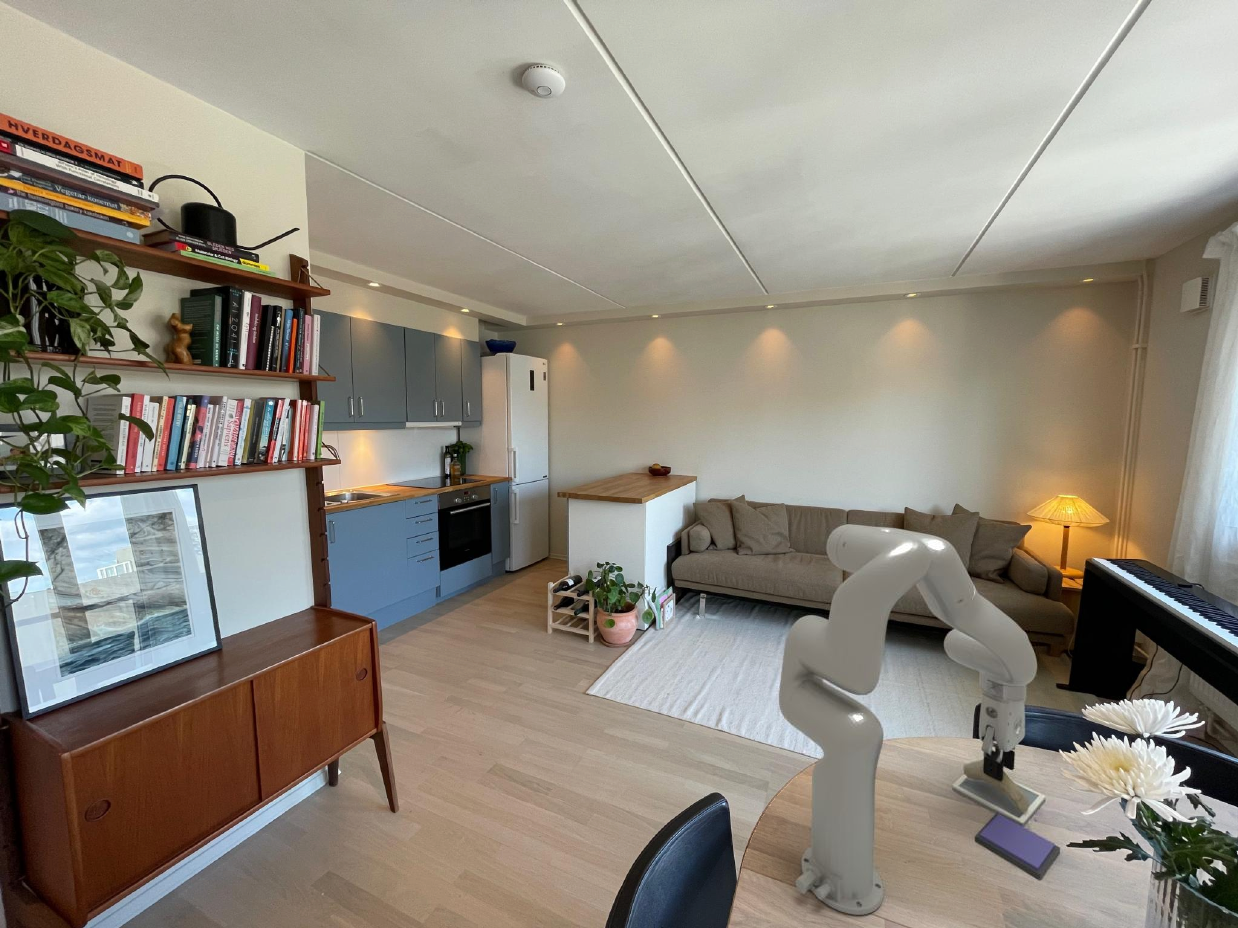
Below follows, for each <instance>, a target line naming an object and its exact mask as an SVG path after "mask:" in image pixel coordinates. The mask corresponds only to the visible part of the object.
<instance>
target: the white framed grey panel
mask: <svg viewBox="0 0 1238 928" xmlns="http://www.w3.org/2000/svg"><path fill="white" fill-rule="evenodd" d="M1011 780H1012V781H1013V782H1014V784H1015V785H1016V786H1017V787H1018V788H1019V789H1020V790H1021V791H1022V792H1023V793H1024V794H1025V795H1026V797H1027V798H1028V800H1029V807H1028V810H1027V812H1023V811H1020V809H1019V808H1018V807H1017V806H1016V805H1015V804H1014V802H1013V801H1012V800H1011V799H1010V798H1009V797H1008V796H1007V795H1005V794H1004V793H1003V792H1001V791H1000V790H999V789H998V788H996V787H995V786H994V785H992V784H991V783H989V782H987V781H984V780H973V779H971V778H968V777H967V776H966V775H965V774H964V773H963V775H961V777H959V778H958V779H957V780H956V781H955V782H954V783H952V784H951V790H952V791H954V792H955V793H957V794H959V795H962V796H963V797H965V798H966V799H968V800H970V801H972V802H974V803H976V804H978V805H979V806H982V807H983V808H985V809H987V810H988V811H990V812H992V813H994V814H996V813H997V814H1000V815H1002V816H1004V817H1006V818H1008V819H1009V820H1011V821H1013V822H1015V823H1017V824H1019V825H1020V826H1022V827H1024V828H1025V826H1026V825H1027V823H1028V822H1029V821H1030V820H1031V819H1032V817H1033V816H1034V815H1035V814H1036V813H1037V811H1038V810H1039V809H1040V808H1041V807H1042V806H1043V804H1045V802H1046V795H1044V794H1042V793H1040V792H1038V791H1036V790H1034V789H1031V787H1030V788H1029V787H1027V786H1025V785H1024V784H1021V783H1019V782H1017V781H1015V780H1014V779H1011Z"/></svg>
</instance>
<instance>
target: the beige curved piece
mask: <svg viewBox="0 0 1238 928" xmlns="http://www.w3.org/2000/svg"><path fill="white" fill-rule="evenodd" d="M983 764H984V758H982V759H979V760H974V761H970V762H967V763H965V764H963V765H962V768H963V775H964V774H965V775H966V776H967V777H968V778H971V779H973V780H984V781H987V782H989V783H991V784H992V785H994V786H995V787H996V788H998V789H999V790H1000V791H1001V792H1003V793H1004V794H1005V795H1007V796H1008V797H1009V798H1010V799H1011V800H1012V801H1013V802H1014V804H1015V805H1016V806H1017V807H1018V808H1019V809H1020V811H1023V812H1027V810H1028V807H1029V800H1028V798H1027V797H1026V795H1025V794H1024V793H1023V792H1022V791H1021V790H1020V789H1019V788H1018V787H1017V786H1016V785H1015V784H1014V782H1013V781H1014V780H1013V779H1011V778H1010V776H1009V775H1008V774H1007V773H1006V772H1005V770H1003V780H1002V781H998V780H996V779H994V778H992V777H990V776H988V775H986V774H984V772H983ZM1012 780H1013V781H1012Z"/></svg>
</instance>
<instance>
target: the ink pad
mask: <svg viewBox="0 0 1238 928" xmlns="http://www.w3.org/2000/svg"><path fill="white" fill-rule="evenodd" d="M974 842H975V843H977V844H979V845H981V846H983V847H984V848H986V849H987V850H989V851H991V852H992V853H994V854H996V855H998V856H999V857H1001V858H1003V859H1004V860H1005V861H1007V862H1009V863H1011V864H1012V865H1014V866H1015V867H1017V868H1019V869H1021V870H1023V871H1024V872H1026V873H1027V874H1029V875H1031V876H1032V877H1034V878H1036V879H1037V880H1039V881H1041V880H1042V879H1043V878H1044V876H1045V874H1046V873H1047V872H1048V870H1049V869H1050V867H1051V866H1052V865H1053V863H1054V862H1055V860H1056V859H1057V857H1058V856H1059V855H1060V853H1061V847H1060V846H1058V845H1056V844H1055V843H1053V842H1052V841H1050V840H1048V839H1046V838H1044V837H1043V836H1041V835H1039V834H1037V833H1035V832H1034V831H1031V830H1029V829H1028V828H1026V827H1025V826H1024V827H1022V826H1020V825H1019V824H1017V823H1015V822H1013V821H1011V820H1009V819H1008V818H1006V817H1004V816H1002V815H1000V814H997V813H994V815H993V816H992V817H991V818H990V820H989V821H987V823H986V824H985V825H984V826H983V827H982V828H981V829H980V830H979V831H978V832H977V833H976V834H975V835H974Z"/></svg>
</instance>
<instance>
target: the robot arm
mask: <svg viewBox="0 0 1238 928" xmlns="http://www.w3.org/2000/svg"><path fill="white" fill-rule="evenodd" d="M826 554H827V557H828V558H829V561H830V562H831V563H832V564H833V565H834V566H836V568H838V569H840V570H842V571H845V572H848V573H852V575H850V576H849V577H848V578H846V579H845V580H844V581H843V582H842V583H841V584H840V585H839V586H838V587H837V588H836V591H835V593H834V594H833V596H832V601H831V606H830V609H829V615H828V616H829V617H828V619H827V618H824V617H822V616H819V615H815V614H814V615H811V614H810V615H805V616H802V617H800V618H798V620H796V621H795V622H794V623H793V625H791V627H790V630H789V631H788V634H787V636H786V639H785V642H784V648H783V649H784V650H783V658H782V666H781V673H780V682H779V691H778V705H779V710H780V713H781V714H782V717H783V718H784V719H785V720H786V721H787V722H788V723H789V724H790V725H791V726H793V728H795V729H797V730H798V731H799V732H800V733H802V734H803V735H805V736H806V737H807V738H809V739H810V740H811V741H812V742H813V743H815V745H817V746H818V747H820V749H821V750H822V753H823V756H822V757H821V758H820V759H818V760H817V762H816V763H815V764H814V765H813V769H812V774H811V836H810V838H811V841H810V842H811V843H810V846H809V847H807V848H806V850H805V851H804V852H803V854H802V856H801V862H800V863H801V873H802V874H801V875H799V877H798V878H796V879H795V881H794V882H795V886H796V888H797V890H798V891H799V892H800V893H801V894H803V895H804V894H806V893H807V892H808V891H811V892H812V894H814V896H816V897H817V899H819V900H820V901H821V902H823V903H824V904H826V905H827V906H829V907H830V908H832V909H834V910H837V911H839V912H842V913H846V914H848V915H849V914H850V915H855V916H856V915H859V916H860V915H863V916H864V915H867V914H870V913H872V912H875V911H876V910H877V909H879V907H880V906H881V904H882V902H883V901H884V900H883V899H884V884H883V879H882V877H881V875H880V873H879V871H878V870H877V868H876V867H875V866H874V854H875V853H874V851H875V848H874V847H875V843H874V841H875V806H876V803H875V802H876V801H875V797H876V796H875V795H876V792H875V791H876V777H877V769H878V765H879V759H880V756H881V752H882V748H883V743H884V738H885V736H884V729H883V728H884V727H883V726H882V724H881V721H880V719H879V718H878V717H877V716H876V714H875V713H874V712H873V711H872V710H871V709H870V708H868V706H865V705H864V704H863V703H861V702H860V701H859V700H856V699H855V698H853V697H851V696H850V695H848V694H846V693H845V692H847V693H850V694H853V695H856V696H867V695H869V694H871V693H872V692H874V691H875V689H876V688H877V686H878V684H879V680H880V675H881V670H882V664H883V655H884V649H885V641H886V633H887V627H888V626H887V625H888V622H889V617H890V613H891V612H892V609H893V607H894V606H895V604H896V603H897V601H898V600H900V598H901V597H902V596H904V595H905V594H906V593H907V592H908V591H909V590H910V589H912V588H913V587H915V586H916V587H917V589H918V591H919V593H920V594H921V597H922V598H923V600H924V602H925V603H926V605H927V607H928V609H929V611H930V612H931V613H932V614H933V615H934V616H935V617H936V618H937V619H939V620H940V621H942V622H944V623H945V624H947V625H948V626H950V627H952V630H950V631H948V633H947V634H946V636H945V637H944V641H943V647H944V651H945V653H946V654H947V656H948V658H950V659H951V660H953V661H954V662H956V663H958V664H960V665H962V666H964V667H967V668H969V669H972V670H974V671H977V672H979V676H978V677H979V680H978V681H979V682H978V683H979V684H978V689H979V690H980V692H981V693H982V696H981V702H980V712H979V722H978V724H979V725H978V726H979V727H978V736H979V739H980V741H981V742H982V745H981V751H982V752H983V754H982V755H983V759H984V764H983V772H984V774H986V775H988V776H990V777H992V778H994V779H996V780H998V781H1002V780H1003V771H1004V768H1005V769H1008V770H1009V771H1010V770H1011V771H1014V769H1015V759H1016V751H1015V750H1016V746H1017V745H1018V744H1019V743H1020V742H1022V740H1023V739H1024V738H1025V735H1026V710H1025V708H1026V707H1025V702H1026V700H1027V685H1028V684H1030V683H1031V682H1032V681H1033V680H1034V679H1035V677H1036V675H1037V670H1038V662H1037V657H1036V653H1035V651H1034V648H1033V646H1032V643H1031V642H1030V640H1029V637H1028V634H1027V633H1026V632H1025V630H1023V629H1022V627H1020V626H1019V624H1017V622H1015V621H1014V619H1012V618H1011V617H1010V616H1008V615H1007V614H1006V613H1004V612H1003V611H1002V610H1001V609H999V608H998V607H997V606H995V604H993V603H992V602H991V601H990V600H988V599H986V598H985V597H984V596H982V595H981V594H979V592H978V591H977V588H976V587H975V585H974V582H973V580H972V579H971V577H970V575H969V573H968V571H967V569H966V567H965V565H964V563H963V561H962V559H961V557H960V555H959V554H958V552H957V549H955V547H954V546H953V545H952V543H950V542H949V541H948V540H946V539H944V538H942V537H939V536H936V535H932V534H928V533H923V532H917V531H911V530H906V529H901V528H895V527H884V526H870V525H863V524H862V525H861V524H849V523H848V524H842V525H840V526H838V527H836V528H835V529H833V531H832V532H831V533H830V534H829V536H828V538H827V541H826ZM825 681H826V682H825ZM827 682H828V683H830V684H831V685H830V684H828V683H827ZM832 685H833V686H832ZM834 686H836V687H837V688H836V687H834ZM839 689H841V690H839ZM842 690H843V691H845V692H843V691H842ZM993 748H995V749H993Z"/></svg>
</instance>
